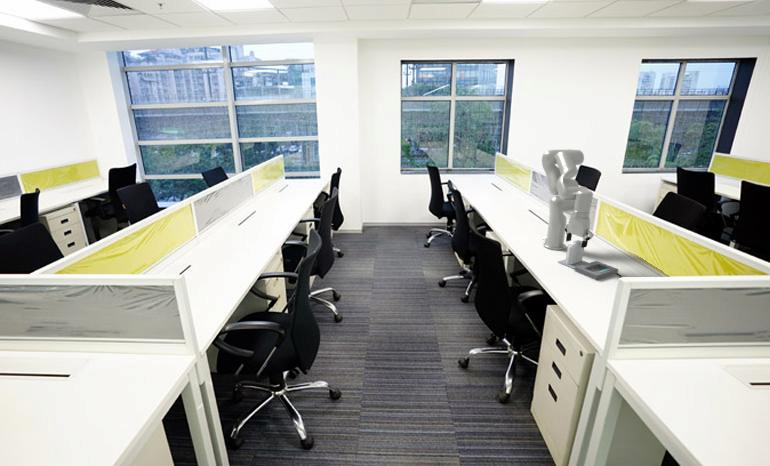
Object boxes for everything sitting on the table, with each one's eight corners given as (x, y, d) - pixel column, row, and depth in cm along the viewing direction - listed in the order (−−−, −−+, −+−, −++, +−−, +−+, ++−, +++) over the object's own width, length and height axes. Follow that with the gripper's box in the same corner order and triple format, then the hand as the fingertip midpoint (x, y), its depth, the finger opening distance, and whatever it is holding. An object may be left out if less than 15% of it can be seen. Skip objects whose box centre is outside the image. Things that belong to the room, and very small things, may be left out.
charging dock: (574, 271, 188) (575, 266, 187) (595, 265, 194) (596, 260, 193) (595, 280, 178) (596, 274, 177) (617, 273, 184) (618, 268, 183)
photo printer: (576, 258, 202) (579, 238, 198) (583, 261, 198) (586, 240, 194) (564, 262, 197) (566, 241, 193) (571, 265, 194) (574, 244, 190)
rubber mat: (557, 262, 199) (557, 261, 199) (574, 257, 204) (574, 257, 204) (573, 269, 191) (573, 268, 190) (590, 264, 195) (590, 263, 195)
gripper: (562, 210, 195) (557, 240, 201) (591, 219, 180) (585, 251, 186) (572, 208, 197) (567, 237, 204) (601, 217, 183) (595, 248, 189)
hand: (575, 244), depth 195 cm, fingers open, 9 cm apart
